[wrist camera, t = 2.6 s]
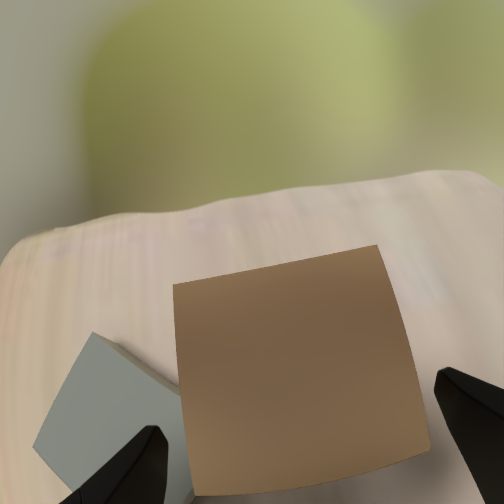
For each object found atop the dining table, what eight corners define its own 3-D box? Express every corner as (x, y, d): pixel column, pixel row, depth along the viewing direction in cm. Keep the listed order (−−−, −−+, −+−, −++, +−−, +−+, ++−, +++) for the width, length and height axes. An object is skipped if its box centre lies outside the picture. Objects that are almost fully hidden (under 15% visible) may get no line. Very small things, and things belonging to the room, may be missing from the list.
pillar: (341, 423, 15) (431, 449, 4) (263, 438, 15) (194, 495, 4) (327, 351, 17) (376, 244, 6) (252, 366, 17) (172, 284, 7)
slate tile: (166, 536, 12) (146, 552, 9) (59, 447, 15) (32, 446, 13) (241, 424, 16) (230, 427, 13) (116, 343, 19) (92, 331, 16)
